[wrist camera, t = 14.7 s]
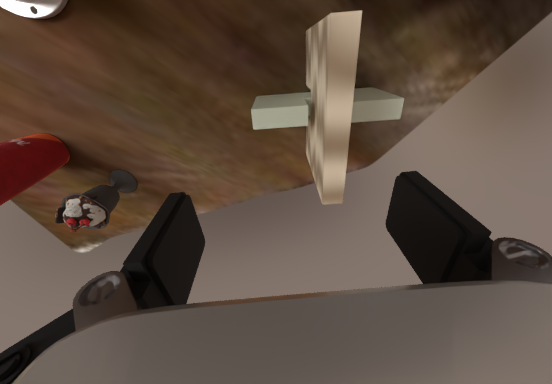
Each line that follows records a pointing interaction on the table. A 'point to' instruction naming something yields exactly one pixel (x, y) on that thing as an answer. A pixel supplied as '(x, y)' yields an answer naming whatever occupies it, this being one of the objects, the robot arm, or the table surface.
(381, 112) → the sage board
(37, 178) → the coffee cup
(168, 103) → the table surface
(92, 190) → the sundae
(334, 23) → the maple plate
